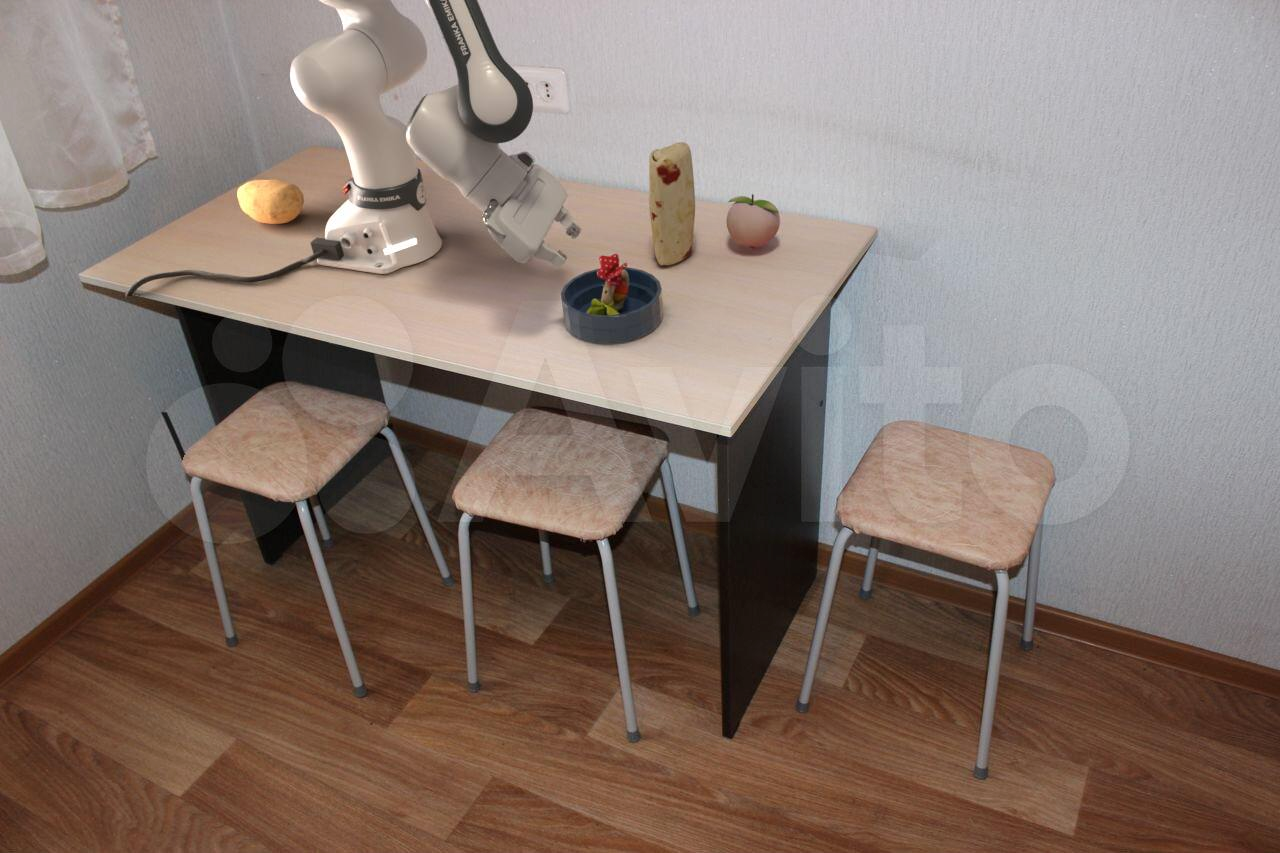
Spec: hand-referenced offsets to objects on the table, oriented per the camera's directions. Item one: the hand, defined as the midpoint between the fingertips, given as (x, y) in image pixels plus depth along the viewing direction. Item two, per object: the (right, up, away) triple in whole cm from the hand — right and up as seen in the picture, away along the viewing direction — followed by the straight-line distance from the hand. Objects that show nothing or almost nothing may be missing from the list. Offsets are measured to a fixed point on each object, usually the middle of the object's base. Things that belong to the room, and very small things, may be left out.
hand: (571, 248), depth 158 cm
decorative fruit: (+30, +4, +22) cm, 37 cm away
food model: (+17, +2, +21) cm, 27 cm away
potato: (-60, +13, +44) cm, 76 cm away
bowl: (+6, -10, +6) cm, 13 cm away
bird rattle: (+6, -10, +6) cm, 13 cm away
